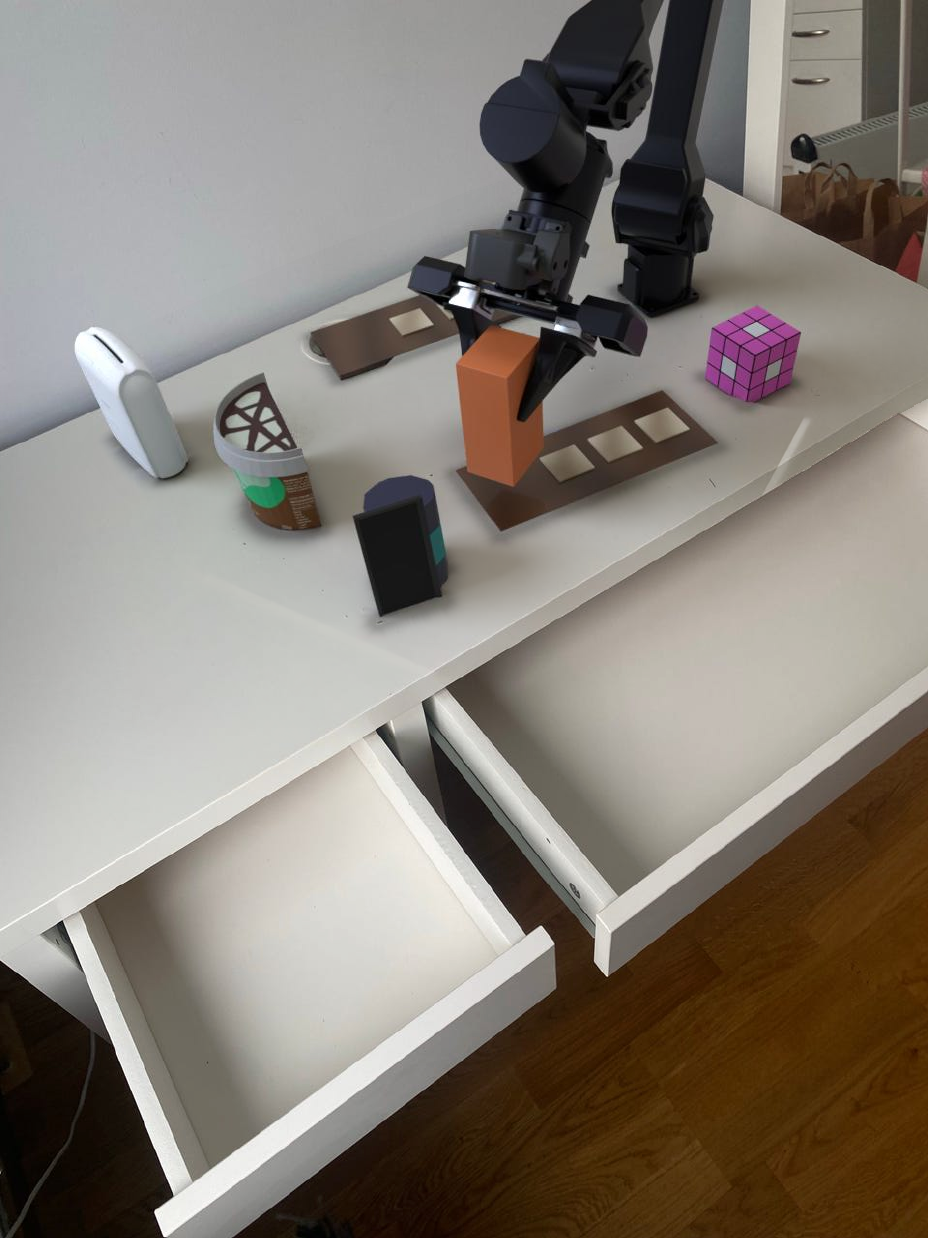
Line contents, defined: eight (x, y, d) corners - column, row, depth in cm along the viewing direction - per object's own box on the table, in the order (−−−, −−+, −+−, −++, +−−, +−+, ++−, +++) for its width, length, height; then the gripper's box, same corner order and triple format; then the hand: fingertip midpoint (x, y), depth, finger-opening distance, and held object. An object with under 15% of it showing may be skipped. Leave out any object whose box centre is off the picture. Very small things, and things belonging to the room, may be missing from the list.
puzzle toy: (745, 407, 88) (755, 355, 84) (704, 378, 91) (711, 327, 87) (790, 383, 90) (802, 331, 85) (748, 355, 93) (757, 304, 89)
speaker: (450, 616, 75) (429, 514, 67) (379, 623, 75) (351, 522, 68) (453, 553, 80) (434, 453, 73) (386, 560, 81) (360, 460, 73)
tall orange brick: (498, 433, 83) (490, 324, 74) (544, 447, 81) (541, 337, 73) (467, 471, 80) (455, 363, 71) (513, 487, 78) (507, 377, 70)
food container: (225, 478, 88) (192, 390, 80) (287, 457, 89) (261, 368, 81) (259, 564, 80) (227, 476, 73) (327, 540, 82) (303, 451, 74)
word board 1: (508, 269, 107) (508, 262, 106) (547, 307, 101) (547, 300, 101) (311, 336, 101) (309, 330, 101) (340, 380, 96) (339, 373, 95)
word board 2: (661, 394, 90) (662, 387, 90) (717, 447, 85) (718, 440, 84) (455, 474, 86) (455, 468, 85) (500, 536, 80) (500, 529, 80)
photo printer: (109, 436, 93) (57, 328, 84) (147, 416, 95) (100, 308, 85) (156, 487, 88) (106, 377, 78) (196, 465, 89) (152, 355, 80)
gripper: (403, 153, 69) (345, 364, 71) (642, 198, 62) (566, 431, 64) (466, 206, 79) (413, 390, 82) (677, 250, 72) (611, 450, 75)
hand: (493, 413), depth 75 cm, fingers closed on tall orange brick, 4 cm apart
